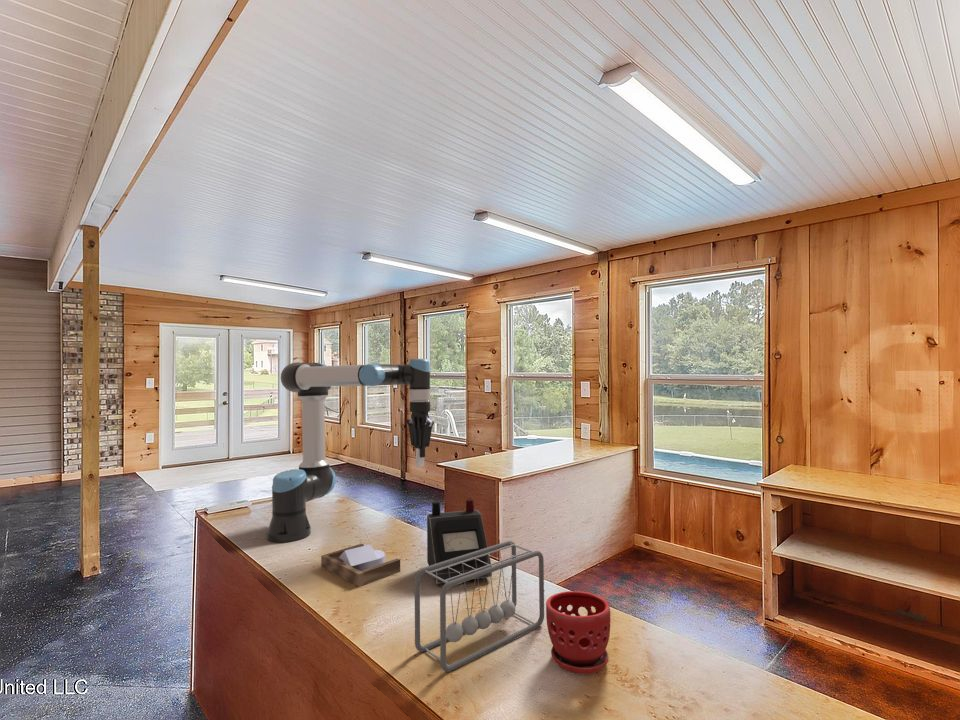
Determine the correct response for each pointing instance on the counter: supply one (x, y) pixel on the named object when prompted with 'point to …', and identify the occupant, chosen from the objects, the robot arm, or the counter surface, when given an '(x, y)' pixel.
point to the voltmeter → (455, 540)
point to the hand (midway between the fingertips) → (420, 466)
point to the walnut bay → (354, 575)
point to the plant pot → (578, 631)
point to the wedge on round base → (363, 557)
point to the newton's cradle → (482, 617)
